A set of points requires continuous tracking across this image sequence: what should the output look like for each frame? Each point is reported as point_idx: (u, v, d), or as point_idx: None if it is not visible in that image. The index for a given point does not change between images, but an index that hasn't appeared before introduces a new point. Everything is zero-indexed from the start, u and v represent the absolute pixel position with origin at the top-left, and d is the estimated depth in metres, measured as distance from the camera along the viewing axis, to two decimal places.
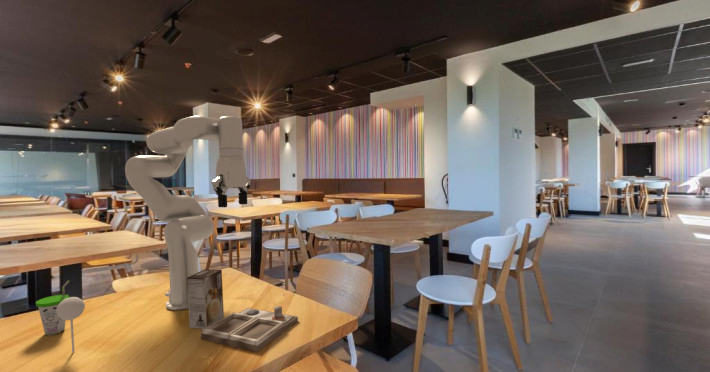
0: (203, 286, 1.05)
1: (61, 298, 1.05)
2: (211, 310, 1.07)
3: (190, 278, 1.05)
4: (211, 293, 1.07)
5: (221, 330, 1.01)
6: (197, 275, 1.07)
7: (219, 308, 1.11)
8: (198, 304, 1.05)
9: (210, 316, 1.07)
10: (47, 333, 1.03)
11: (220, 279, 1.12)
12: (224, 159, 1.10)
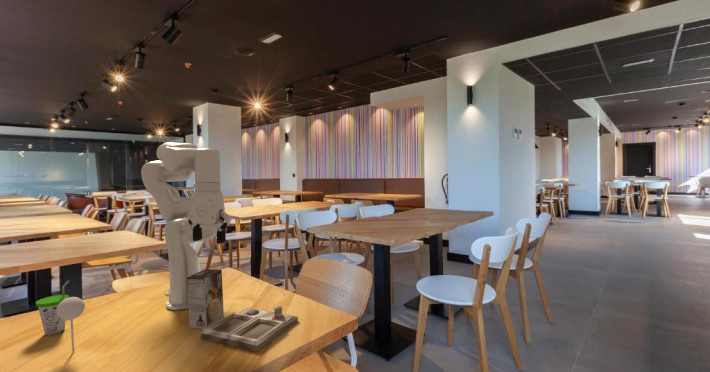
0: (203, 286, 1.05)
1: (61, 298, 1.05)
2: (211, 310, 1.07)
3: (190, 278, 1.05)
4: (211, 293, 1.07)
5: (221, 330, 1.01)
6: (197, 275, 1.07)
7: (219, 308, 1.11)
8: (198, 304, 1.05)
9: (210, 316, 1.07)
10: (47, 333, 1.03)
11: (220, 279, 1.12)
12: (221, 193, 1.07)
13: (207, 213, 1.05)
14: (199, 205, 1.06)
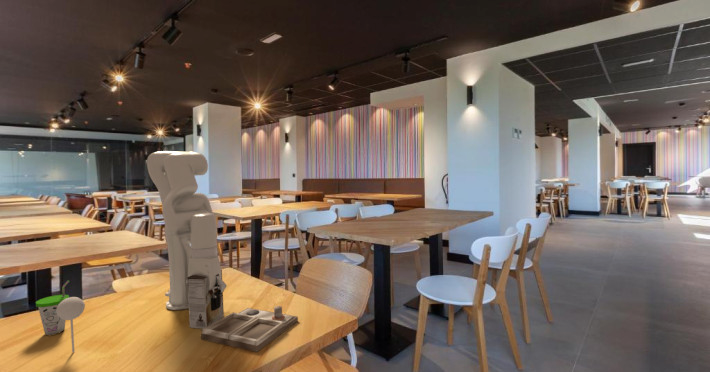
0: (203, 286, 1.05)
1: (61, 298, 1.05)
2: (211, 310, 1.07)
3: (190, 278, 1.05)
4: None
5: (221, 330, 1.01)
6: None
7: (219, 308, 1.11)
8: (198, 304, 1.05)
9: (210, 316, 1.07)
10: (47, 333, 1.03)
11: None
12: (217, 258, 1.08)
13: None
14: (196, 270, 1.07)
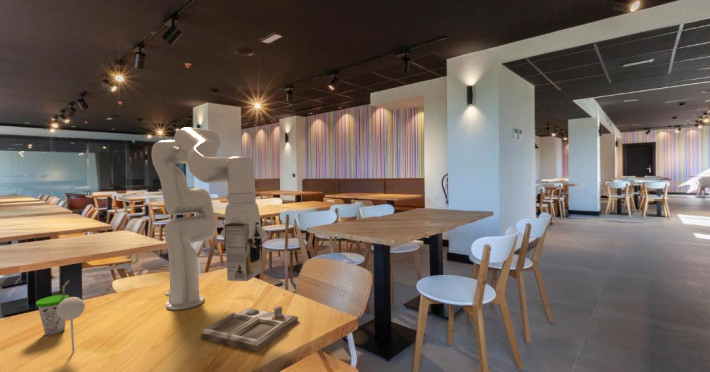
0: (242, 233, 0.95)
1: (61, 298, 1.05)
2: (250, 262, 0.98)
3: (228, 225, 0.96)
4: (250, 243, 0.98)
5: (221, 330, 1.01)
6: (235, 223, 0.98)
7: (258, 261, 1.02)
8: (237, 254, 0.96)
9: (250, 268, 0.97)
10: (47, 333, 1.03)
11: None
12: (256, 205, 0.99)
13: None
14: (234, 218, 0.98)
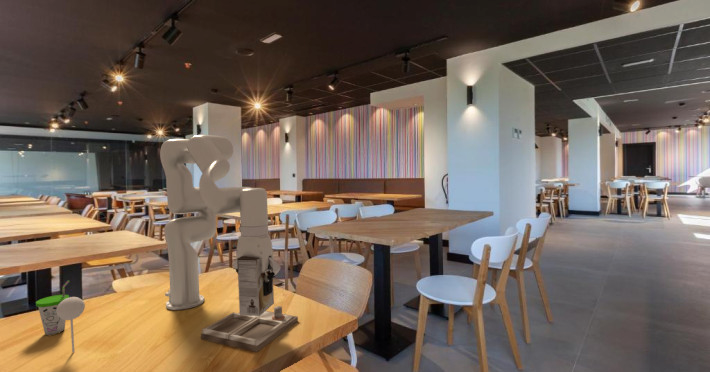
0: (256, 268, 0.93)
1: (61, 298, 1.05)
2: (263, 296, 0.96)
3: (241, 259, 0.94)
4: None
5: (221, 330, 1.01)
6: None
7: None
8: (250, 288, 0.94)
9: (262, 302, 0.96)
10: (47, 333, 1.03)
11: None
12: (269, 237, 0.97)
13: None
14: (246, 251, 0.96)
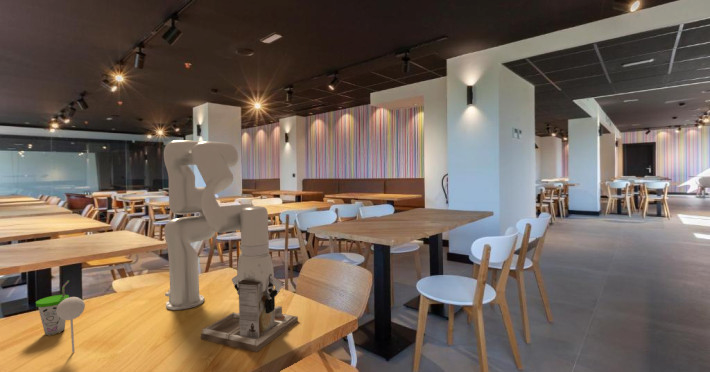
0: (256, 293, 0.94)
1: (61, 298, 1.05)
2: (263, 320, 0.96)
3: (242, 283, 0.95)
4: (264, 301, 0.96)
5: (221, 330, 1.01)
6: (249, 280, 0.96)
7: (271, 316, 1.01)
8: (250, 313, 0.94)
9: (263, 326, 0.96)
10: (47, 333, 1.03)
11: None
12: (269, 256, 0.97)
13: (256, 279, 0.95)
14: (247, 270, 0.96)
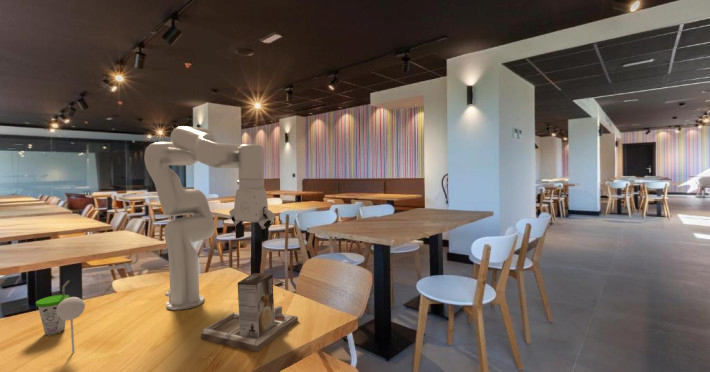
0: (256, 292, 0.94)
1: (61, 298, 1.05)
2: (263, 320, 0.96)
3: (241, 283, 0.95)
4: (263, 300, 0.96)
5: (221, 330, 1.01)
6: (248, 280, 0.96)
7: (270, 316, 1.01)
8: (250, 313, 0.95)
9: (262, 326, 0.96)
10: (47, 333, 1.03)
11: (271, 284, 1.01)
12: (264, 190, 1.05)
13: (251, 210, 1.03)
14: (243, 202, 1.04)
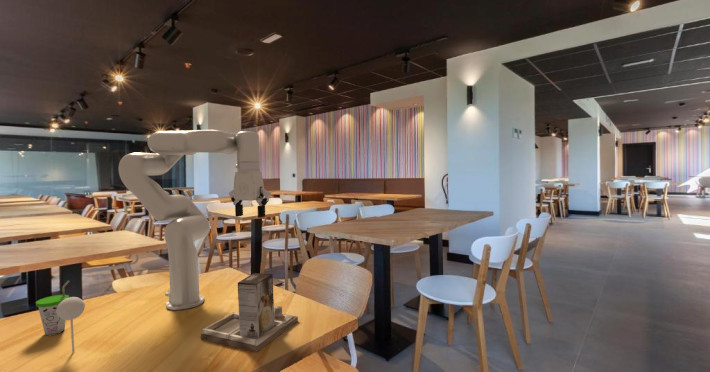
0: (256, 292, 0.94)
1: (61, 298, 1.05)
2: (263, 320, 0.96)
3: (241, 283, 0.95)
4: (263, 300, 0.96)
5: (221, 330, 1.01)
6: (248, 280, 0.96)
7: (270, 316, 1.01)
8: (250, 313, 0.95)
9: (262, 326, 0.96)
10: (47, 333, 1.03)
11: (271, 284, 1.01)
12: (260, 172, 1.19)
13: (249, 189, 1.16)
14: (241, 183, 1.17)
